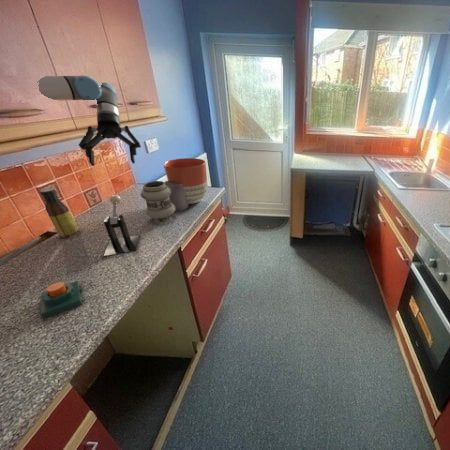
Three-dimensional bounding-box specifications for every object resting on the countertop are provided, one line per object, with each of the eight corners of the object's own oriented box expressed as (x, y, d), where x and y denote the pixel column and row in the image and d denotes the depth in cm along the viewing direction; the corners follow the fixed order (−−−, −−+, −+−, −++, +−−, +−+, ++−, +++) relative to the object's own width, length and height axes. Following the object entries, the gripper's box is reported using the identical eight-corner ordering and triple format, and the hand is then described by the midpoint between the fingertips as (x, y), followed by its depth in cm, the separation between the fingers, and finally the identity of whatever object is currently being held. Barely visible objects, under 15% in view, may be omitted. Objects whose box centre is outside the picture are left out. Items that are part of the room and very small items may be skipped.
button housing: (44, 298, 72) (38, 287, 70) (80, 286, 76) (75, 276, 74) (44, 320, 65) (37, 309, 63) (82, 305, 70) (77, 294, 68)
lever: (111, 199, 97) (108, 193, 94) (122, 198, 98) (119, 192, 95) (110, 229, 90) (106, 223, 87) (122, 227, 91) (119, 222, 88)
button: (49, 291, 69) (46, 285, 68) (66, 286, 71) (63, 280, 70) (49, 299, 67) (46, 293, 66) (67, 293, 69) (63, 287, 68)
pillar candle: (172, 204, 132) (166, 177, 125) (191, 204, 133) (186, 177, 126) (165, 212, 123) (159, 183, 116) (186, 211, 125) (180, 183, 117)
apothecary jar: (142, 224, 112) (131, 186, 103) (162, 213, 122) (153, 178, 113) (165, 228, 109) (155, 190, 100) (183, 217, 119) (175, 181, 111)
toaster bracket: (111, 242, 98) (100, 213, 92) (140, 238, 102) (131, 209, 96) (104, 259, 88) (91, 228, 82) (137, 253, 92) (127, 223, 86)
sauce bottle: (83, 231, 105) (63, 186, 95) (76, 238, 100) (55, 191, 90) (64, 232, 103) (42, 187, 93) (56, 240, 98) (32, 193, 88)
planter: (195, 211, 125) (188, 169, 115) (163, 205, 130) (154, 165, 119) (217, 198, 141) (213, 160, 131) (189, 193, 146) (182, 156, 136)
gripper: (145, 123, 111) (150, 165, 106) (75, 124, 102) (78, 170, 97) (140, 111, 105) (146, 155, 100) (65, 111, 95) (68, 159, 90)
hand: (112, 162), depth 98 cm, fingers open, 13 cm apart
